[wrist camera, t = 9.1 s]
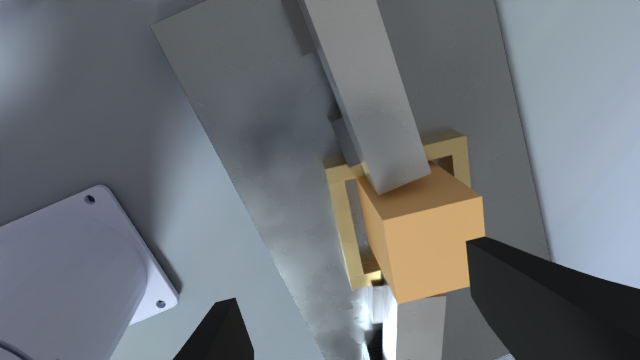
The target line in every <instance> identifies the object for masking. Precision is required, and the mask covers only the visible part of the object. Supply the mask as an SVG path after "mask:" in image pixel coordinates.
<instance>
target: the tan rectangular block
mask: <svg viewBox="0 0 640 360" xmlns="http://www.w3.org/2000/svg"><path fill="white" fill-rule="evenodd" d="M428 164H429V167H430V170H431V174H429V175H426V176H424V177H421V178H419V179H417V180H414V181H412V182H410V183H407V184H405V185H402V186H400V187H398V188H395V189H393V190H390V191H388V192H386V193H383V194H381V195H378V194H377V192H376V191H375V189H374V188H373V186H372V185H371V184H370V182H369V181H368V179H367V178H366V176H362V177H358V178H356V182H357V187H358V192H359V197H360V202H361V208H362V213H363V218H364V223H365V228H366V233H367V238H368V243H369V245H370V247H371V249H372V251H373V254H374V256H375V258H376V260H377V262H378V264H379V266H380V268H381V270H382V273H383V275H384V277H385V279H386V281H387V283H388V285H389V287H390V290H391V292H392V294H393V296H394V298H395V300H396V302H397V304H401V303H405V302H409V301H413V300H417V299H421V298H425V297H429V296H433V295H437V294H441V293H445V292H449V291H453V290H457V289H461V288H465V287H469V286H470V282H469V271H468V261H467V250H466V241H468V240H472V239H476V238H480V237H484V236H485V228H484V215H483V202H482V196H481V195H479V194H478V193H477V192H475V191H474V190H472V189H471V188H469V187H468V186H467V185H465V184H464V183H462V182H461V181H460V180H458V179H457V178H455V177H454V176H452V175H451V174H450V173H448V172H447V171H445V170H444V169H442V168H441V167H440V166H438V165H437V164H435V163H434V162H432V161H431V160H429V161H428Z"/></svg>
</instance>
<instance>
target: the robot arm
mask: <svg viewBox="0 0 640 360" xmlns="http://www.w3.org/2000/svg"><path fill="white" fill-rule="evenodd" d="M88 195H91V196H93V197H94V199H95V202H92V201H90V200H89V199H88ZM466 250H467V261H468V271H469V282H470V292H471V297H472V299H473V300H474V302H475V304H476V306H477V307H478V309H479V311H480V312H481V314H482V316H483V317H484V319H485V320H486V322H487V324H488V325H489V326H490V328H491V329H492V330H493V332H494V333H495V334H496V335H497V337H498V338H499V339H500V341H501V342H502V343H503V344H504V346H505V347H506V348H507V349H508V351H509V352H510V353H511V354H512V356H513V357H514V358H515V359H516V360H640V289H637V288H634V287H630V286H626V285H622V284H619V283H615V282H611V281H608V280H604V279H601V278H598V277H594V276H591V275H588V274H585V273H582V272H579V271H576V270H573V269H570V268H567V267H564V266H562V265H559V264H556V263H553V262H551V261H548V260H545V259H543V258H540V257H538V256H535V255H532V254H530V253H527V252H525V251H522V250H520V249H517V248H515V247H512V246H510V245H507V244H505V243H502V242H500V241H497V240H494V239H492V238H489V237H485V236H484V237H480V238H476V239H472V240H468V241H466ZM159 300H162V301H164V302H165V304H161V303H160V302H159ZM178 301H179V294H178V293H177V291H176V289H175V288H174V286H173V285H172V283H171V282H170V280H169V279H168V277H167V276H166V274H165V273H164V271H163V270H162V268H161V267H160V265H159V264H158V262H157V261H156V259H155V258H154V256H153V254H152V253H151V251H150V250H149V248H148V247H147V245H146V244H145V242H144V241H143V239H142V238H141V236H140V235H139V233H138V232H137V230H136V229H135V227H134V226H133V224H132V222H131V221H130V219H129V218H128V216H127V215H126V213H125V212H124V210H123V209H122V207H121V206H120V204H119V203H118V201H117V200H116V198H115V197H114V195H113V194H112V192H111V190H110V189H109V188H108V187H106V186H104V185H96V186H93V187H91V188H89V189H87V190H84V191H82V192H80V193H77V194H75V195H73V196H70V197H68V198H66V199H63V200H61V201H59V202H56V203H54V204H52V205H49V206H47V207H45V208H42V209H40V210H38V211H36V212H33V213H31V214H29V215H26V216H24V217H22V218H19V219H17V220H15V221H12V222H10V223H8V224H5V225H3V226H1V227H0V360H109V359H110V358H111V356H112V354H113V352H114V350H115V349H116V347H117V345H118V343H119V341H120V340H121V338H122V336H123V334H124V332H125V331H126V329H127V327H128V326H129V325H132V324H134V323H136V322H139V321H141V320H144V319H146V318H148V317H151V316H153V315H156V314H158V313H160V312H163V311H165V310H168V309H170V308H172V307H174V306H176V305H177V303H178ZM173 360H254V349H253V346H252V344H251V341H250V338H249V335H248V332H247V329H246V326H245V324H244V321H243V318H242V315H241V312H240V309H239V307H238V304H237V301H236V298H232V299H228V300H224V301H220V302H216V303H215V304H214V305H213V307H212V308H211V309H210V310H209V312H208V313H207V315H206V316H205V317H204V319H203V320H202V321H201V323H200V324H199V326H198V327H197V328H196V330H195V331H194V332H193V334H192V335H191V336H190V338H189V339H188V340H187V342H186V343H185V344H184V346H183V347H182V348H181V350H180V351H179V352H178V354H177V355H176V356H175V357H174V359H173Z"/></svg>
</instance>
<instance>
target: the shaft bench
mask: <svg viewBox="0 0 640 360" xmlns="http://www.w3.org/2000/svg"><path fill="white" fill-rule="evenodd" d="M150 27H151V29H152V31H153V33H154V35H155V37H156V39H157V41H158V43H159V44H160V46H161V48H162V50H163V52H164V54H165V56H166V58H167V60H168V62H169V63H170V65H171V67H172V69H173V71H174V73H175V75H176V77H177V79H178V80H179V82H180V84H181V86H182V88H183V90H184V92H185V94H186V96H187V98H188V99H189V101H190V103H191V105H192V107H193V109H194V111H195V113H196V115H197V117H198V118H199V120H200V122H201V124H202V126H203V128H204V130H205V132H206V134H207V136H208V137H209V139H210V141H211V143H212V145H213V147H214V149H215V151H216V153H217V155H218V156H219V158H220V160H221V162H222V164H223V166H224V168H225V170H226V172H227V173H228V175H229V177H230V179H231V181H232V183H233V185H234V187H235V189H236V191H237V192H238V194H239V196H240V198H241V200H242V202H243V204H244V206H245V208H246V210H247V211H248V213H249V215H250V217H251V219H252V221H253V223H254V225H255V227H256V229H257V230H258V232H259V234H260V236H261V238H262V240H263V242H264V244H265V246H266V248H267V249H268V251H269V253H270V255H271V257H272V259H273V261H274V263H275V265H276V266H277V268H278V270H279V272H280V274H281V276H282V278H283V280H284V282H285V284H286V285H287V287H288V289H289V291H290V293H291V295H292V297H293V299H294V301H295V303H296V304H297V306H298V308H299V310H300V312H301V314H302V316H303V318H304V320H305V322H306V323H307V325H308V327H309V329H310V331H311V333H312V335H313V337H314V339H315V341H316V342H317V344H318V346H319V348H320V350H321V352H322V354H323V356H324V358H325V359H326V360H494V359H497V358H499V357H502V356H504V355H507V354H509V353H510V352H509V351H508V349H507V348H506V347H505V346H504V344H503V343H502V342H501V341H500V339H499V338H498V337H497V335H496V334H495V333H494V332H493V330H492V329H491V328H490V326H489V325H488V324H487V322H486V320H485V319H484V317H483V316H482V314H481V312H480V311H479V309H478V307H477V306H476V304H475V302H474V300H473V299H472V297H471V292H470V286H469V287H465V288H461V289H457V290H453V291H449V292H445V293H441V294H437V295H433V296H429V297H425V298H421V299H417V300H413V301H409V302H405V303H401V304H397V302H396V300H395V298H394V296H393V294H392V292H391V290H390V287H389V285H388V283H387V281H386V279H385V277H384V275H383V273H382V270H381V268H380V266H379V264H378V262H377V260H376V258H375V256H374V254H373V251H372V249H371V247H370V245H369V243H368V238H367V233H366V228H365V223H364V218H363V213H362V208H361V202H360V197H359V192H358V187H357V182H356V178H358V177H362V176H366V178H367V179H368V181H369V182H370V184H371V185H372V186H373V188H374V189H375V191H376V192H377V194H378V195H381V194H383V193H386V192H388V191H390V190H393V189H395V188H398V187H400V186H402V185H405V184H407V183H410V182H412V181H414V180H417V179H419V178H421V177H424V176H426V175H429V174H431V170H430V167H429V164H428V161H429V160H431V161H432V162H434V163H435V164H437V165H438V166H440V167H441V168H442V169H444V170H445V171H447V172H448V173H450V174H451V175H452V176H454V177H455V178H457V179H458V180H460V181H461V182H462V183H464V184H465V185H467V186H468V187H469V188H471V189H472V190H474V191H475V192H477V193H478V194H479V195H481V196H482V202H483V215H484V228H485V237H489V238H492V239H494V240H497V241H500V242H502V243H505V244H507V245H510V246H512V247H515V248H517V249H520V250H522V251H525V252H527V253H530V254H532V255H535V256H538V257H540V258H543V259H545V260H548V261H551V259H550V254H549V250H548V245H547V241H546V236H545V231H544V227H543V222H542V218H541V213H540V209H539V204H538V200H537V195H536V190H535V186H534V181H533V177H532V172H531V168H530V163H529V158H528V154H527V149H526V145H525V140H524V136H523V131H522V127H521V122H520V117H519V113H518V108H517V104H516V99H515V95H514V90H513V85H512V81H511V76H510V72H509V67H508V63H507V58H506V54H505V49H504V44H503V40H502V35H501V31H500V26H499V22H498V17H497V12H496V8H495V3H494V0H206V1H204V2H202V3H199V4H197V5H195V6H193V7H190V8H188V9H186V10H184V11H181V12H179V13H177V14H175V15H172V16H170V17H168V18H166V19H163V20H161V21H159V22H157V23H154V24H152V25H150Z"/></svg>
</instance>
